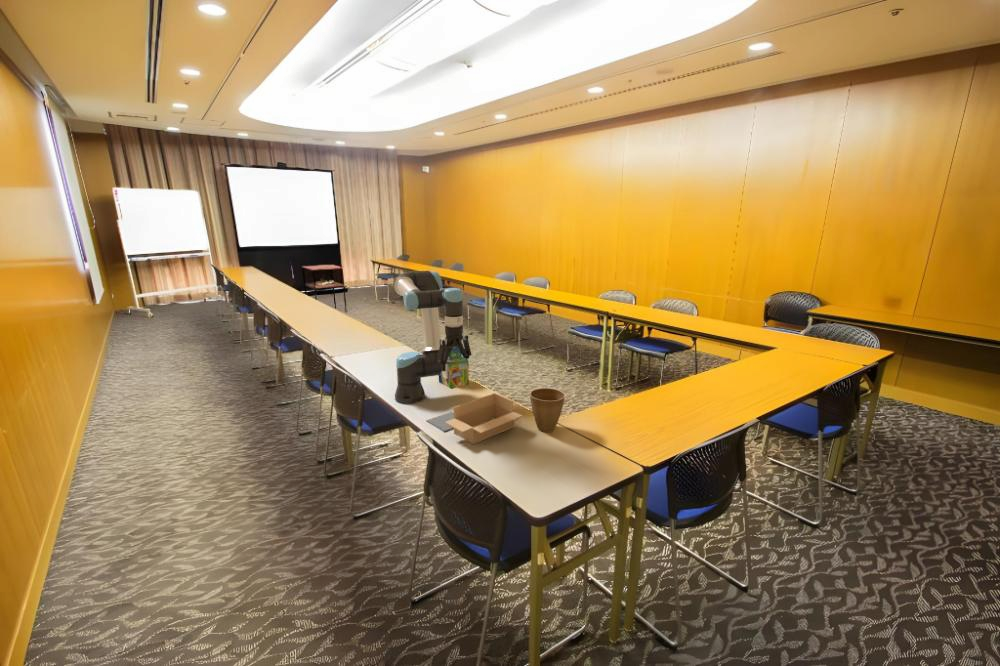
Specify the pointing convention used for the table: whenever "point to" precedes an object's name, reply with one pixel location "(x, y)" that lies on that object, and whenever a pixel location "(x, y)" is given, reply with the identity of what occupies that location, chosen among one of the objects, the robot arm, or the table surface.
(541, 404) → the plant pot
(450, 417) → the mat
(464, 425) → the carton
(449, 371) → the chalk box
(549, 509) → the table surface
